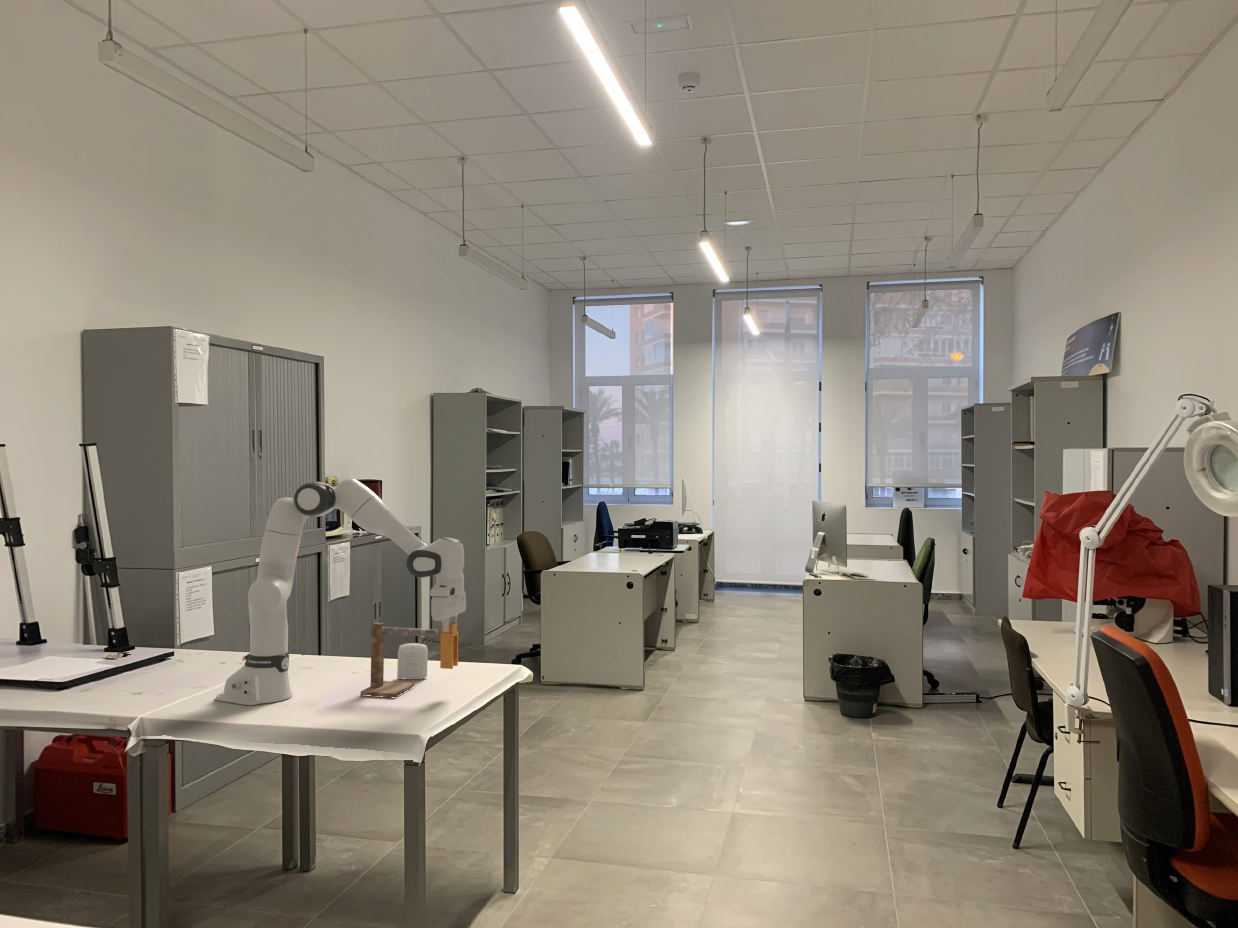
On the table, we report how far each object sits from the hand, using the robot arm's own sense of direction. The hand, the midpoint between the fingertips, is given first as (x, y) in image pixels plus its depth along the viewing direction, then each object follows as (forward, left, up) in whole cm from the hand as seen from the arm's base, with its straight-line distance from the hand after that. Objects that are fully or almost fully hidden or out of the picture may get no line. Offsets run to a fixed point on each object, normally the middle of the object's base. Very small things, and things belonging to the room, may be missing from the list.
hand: (449, 630), depth 259 cm
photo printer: (-21, +18, -22) cm, 35 cm away
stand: (-16, 0, -21) cm, 26 cm away
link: (0, 0, -12) cm, 12 cm away
